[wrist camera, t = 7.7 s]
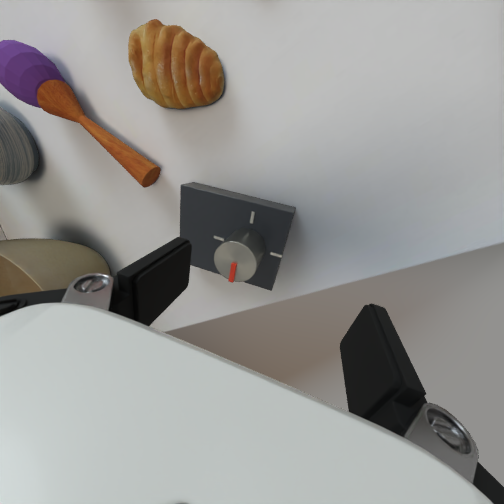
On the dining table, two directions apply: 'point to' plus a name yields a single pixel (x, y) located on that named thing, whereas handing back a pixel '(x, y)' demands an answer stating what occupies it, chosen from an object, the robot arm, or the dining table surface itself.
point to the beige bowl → (44, 264)
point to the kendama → (62, 102)
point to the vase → (15, 150)
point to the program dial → (240, 255)
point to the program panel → (233, 226)
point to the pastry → (174, 66)
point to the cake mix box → (2, 235)
